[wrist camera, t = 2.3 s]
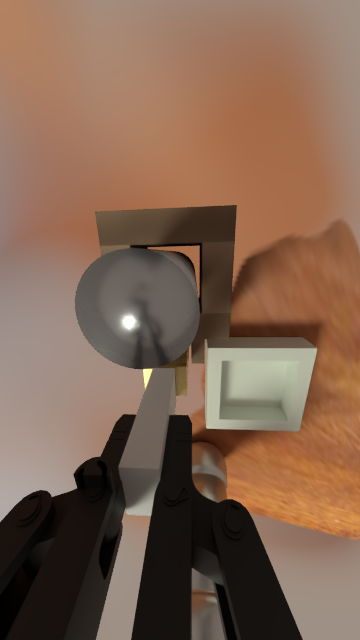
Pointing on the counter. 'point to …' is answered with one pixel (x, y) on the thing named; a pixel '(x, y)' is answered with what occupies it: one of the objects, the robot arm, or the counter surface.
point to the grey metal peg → (139, 306)
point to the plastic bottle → (205, 613)
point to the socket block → (184, 230)
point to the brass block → (180, 373)
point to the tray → (257, 382)
